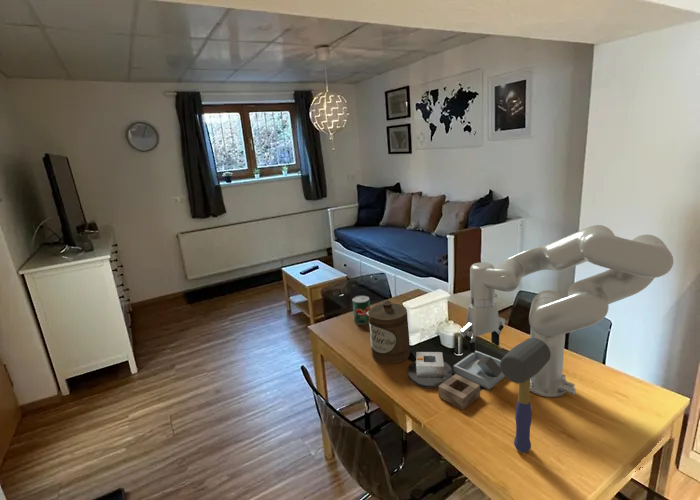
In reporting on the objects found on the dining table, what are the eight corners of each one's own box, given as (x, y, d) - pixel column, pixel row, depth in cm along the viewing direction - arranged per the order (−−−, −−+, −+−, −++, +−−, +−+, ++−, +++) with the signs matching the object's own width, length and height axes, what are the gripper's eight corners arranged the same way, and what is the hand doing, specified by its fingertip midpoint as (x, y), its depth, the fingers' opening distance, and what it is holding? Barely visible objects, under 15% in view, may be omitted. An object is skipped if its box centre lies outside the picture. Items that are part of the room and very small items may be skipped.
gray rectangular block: (469, 363, 133) (485, 363, 123) (474, 357, 134) (490, 357, 124) (480, 375, 132) (496, 377, 123) (485, 369, 133) (502, 370, 124)
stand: (479, 396, 122) (480, 385, 120) (463, 410, 116) (462, 398, 115) (455, 384, 128) (455, 373, 127) (438, 396, 123) (438, 386, 122)
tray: (510, 372, 132) (511, 364, 132) (489, 389, 124) (489, 381, 123) (475, 357, 143) (475, 350, 142) (453, 373, 134) (453, 365, 134)
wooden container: (363, 354, 151) (359, 302, 145) (389, 340, 160) (386, 290, 155) (392, 368, 140) (388, 313, 134) (418, 352, 150) (415, 299, 144)
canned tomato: (361, 326, 175) (360, 303, 172) (350, 321, 181) (348, 299, 178) (374, 320, 180) (372, 298, 177) (363, 315, 186) (361, 294, 183)
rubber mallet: (520, 430, 106) (523, 331, 99) (548, 444, 101) (554, 341, 93) (495, 455, 99) (497, 350, 91) (524, 472, 93) (528, 362, 85)
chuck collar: (442, 362, 137) (442, 351, 136) (444, 377, 129) (443, 365, 128) (416, 361, 139) (416, 350, 138) (416, 376, 131) (416, 365, 129)
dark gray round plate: (461, 374, 133) (461, 369, 133) (433, 394, 124) (433, 388, 124) (427, 358, 145) (426, 353, 144) (399, 375, 136) (399, 370, 135)
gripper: (496, 291, 132) (496, 336, 137) (453, 302, 127) (455, 349, 131) (512, 298, 125) (512, 345, 130) (467, 310, 120) (468, 359, 124)
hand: (483, 347), depth 131 cm, fingers open, 9 cm apart
